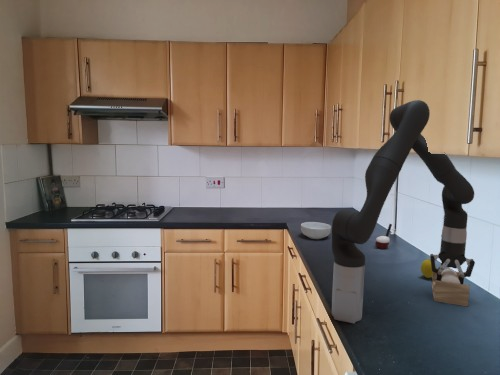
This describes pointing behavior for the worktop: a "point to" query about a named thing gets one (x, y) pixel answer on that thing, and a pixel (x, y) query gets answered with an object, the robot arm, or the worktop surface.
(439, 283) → the roll holder
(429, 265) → the lemon
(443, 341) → the worktop surface
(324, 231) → the cereal bowl
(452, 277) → the paper roll
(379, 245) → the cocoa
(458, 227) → the robot arm
